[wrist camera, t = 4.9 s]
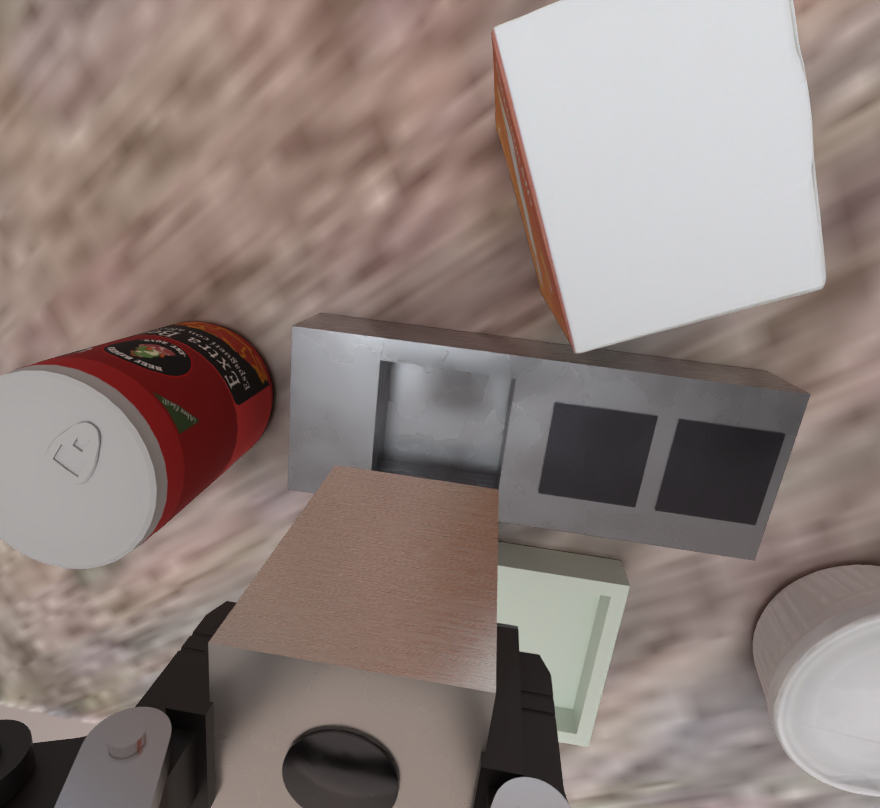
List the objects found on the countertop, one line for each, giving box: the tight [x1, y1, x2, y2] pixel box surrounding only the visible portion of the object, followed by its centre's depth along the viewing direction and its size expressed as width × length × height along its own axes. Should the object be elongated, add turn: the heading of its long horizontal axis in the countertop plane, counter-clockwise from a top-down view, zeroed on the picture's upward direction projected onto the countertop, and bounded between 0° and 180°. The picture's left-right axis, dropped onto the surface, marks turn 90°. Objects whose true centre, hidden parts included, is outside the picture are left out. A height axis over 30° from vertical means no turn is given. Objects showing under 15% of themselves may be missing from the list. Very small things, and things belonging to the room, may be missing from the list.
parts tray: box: [497, 542, 630, 747], centre depth 31 cm, size 11×11×2 cm
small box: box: [491, 0, 826, 353], centre depth 19 cm, size 8×6×13 cm
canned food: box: [0, 322, 273, 569], centre depth 25 cm, size 8×8×11 cm
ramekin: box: [753, 564, 880, 797], centre depth 28 cm, size 11×11×5 cm
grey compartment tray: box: [288, 313, 810, 560], centre depth 26 cm, size 22×8×4 cm, turn 84°
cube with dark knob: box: [208, 465, 499, 808], centre depth 13 cm, size 5×5×7 cm
